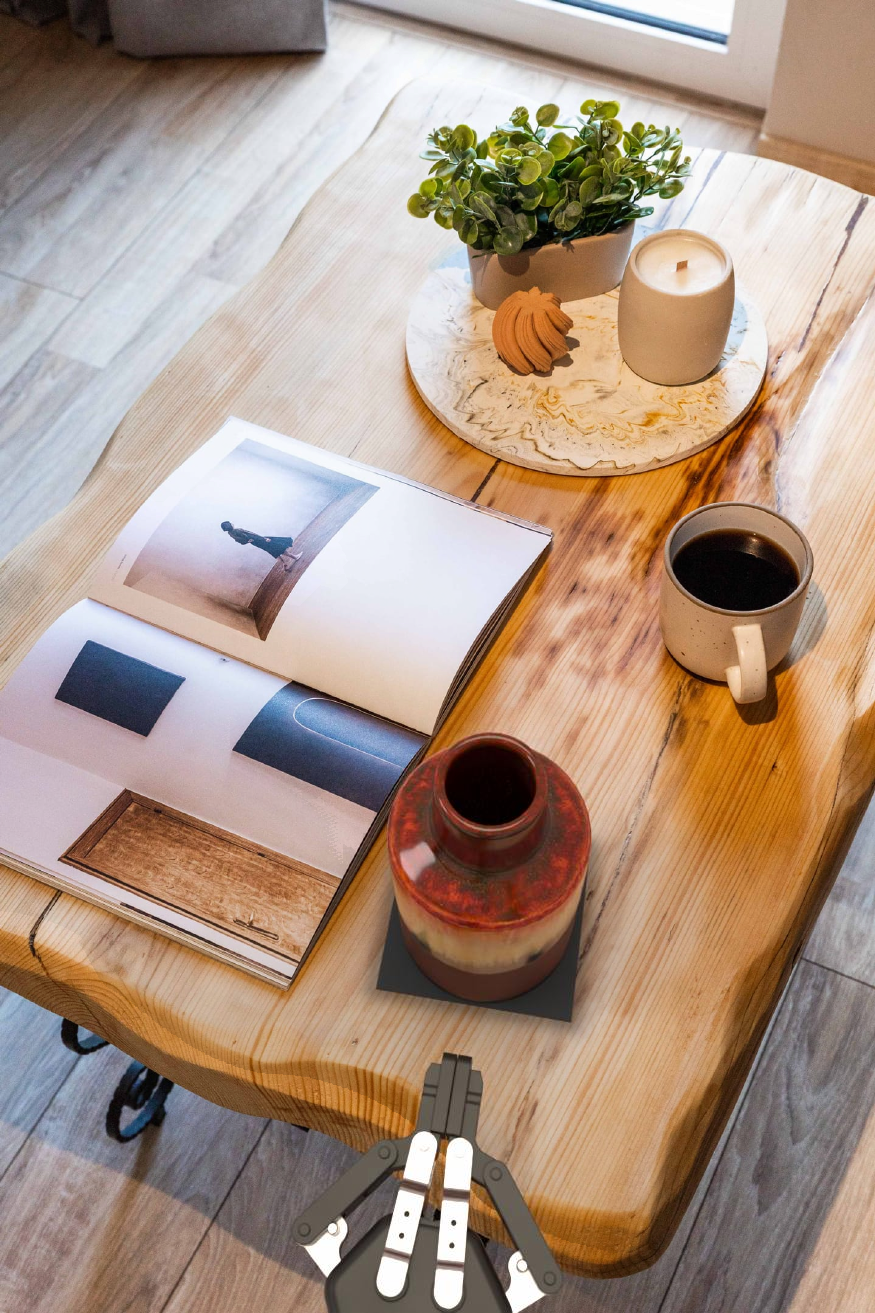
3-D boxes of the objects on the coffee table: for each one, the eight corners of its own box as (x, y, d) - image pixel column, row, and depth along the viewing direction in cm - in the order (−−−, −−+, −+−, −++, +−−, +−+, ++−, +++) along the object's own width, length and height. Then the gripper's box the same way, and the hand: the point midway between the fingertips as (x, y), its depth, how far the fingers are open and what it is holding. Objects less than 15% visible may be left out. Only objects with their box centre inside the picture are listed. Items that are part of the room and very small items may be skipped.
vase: (486, 1042, 66) (491, 939, 49) (365, 916, 70) (330, 779, 53) (607, 919, 70) (651, 782, 53) (485, 806, 74) (490, 645, 57)
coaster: (376, 989, 68) (375, 988, 68) (409, 824, 74) (409, 823, 74) (570, 1022, 67) (571, 1021, 67) (589, 851, 72) (589, 851, 72)
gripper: (554, 1535, 42) (598, 1064, 51) (219, 1460, 44) (318, 1016, 52) (544, 1509, 48) (585, 1094, 57) (252, 1444, 50) (335, 1050, 59)
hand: (457, 1057), depth 55 cm, fingers closed
